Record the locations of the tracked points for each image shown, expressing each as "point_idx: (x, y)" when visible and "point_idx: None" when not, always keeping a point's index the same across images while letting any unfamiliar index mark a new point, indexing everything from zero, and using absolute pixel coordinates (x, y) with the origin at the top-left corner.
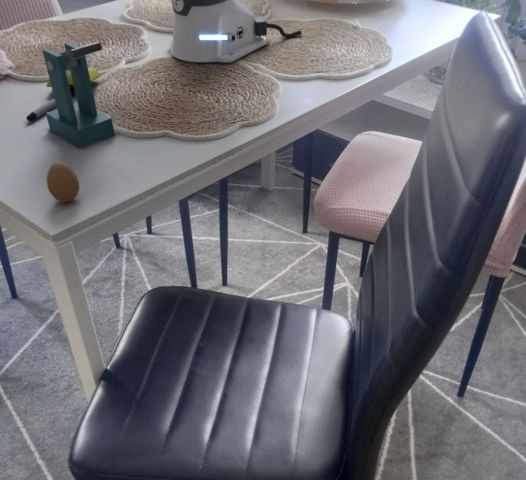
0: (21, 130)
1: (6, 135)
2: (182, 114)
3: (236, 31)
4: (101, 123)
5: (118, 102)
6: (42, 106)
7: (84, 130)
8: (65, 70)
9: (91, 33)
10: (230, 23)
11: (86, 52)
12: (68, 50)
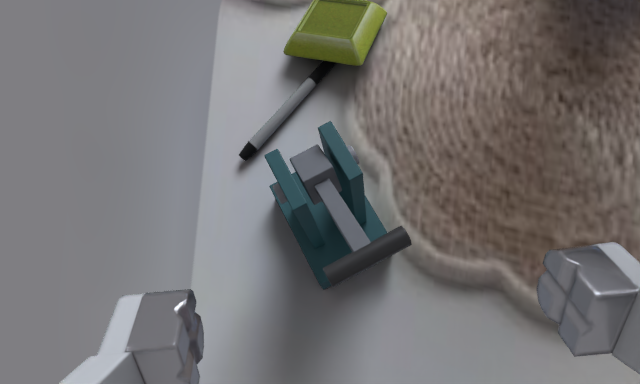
0: (228, 186)
1: (201, 199)
2: (537, 198)
3: None
4: None
5: (410, 115)
6: (269, 123)
7: None
8: (311, 214)
9: None
10: None
11: (367, 268)
12: (324, 170)
